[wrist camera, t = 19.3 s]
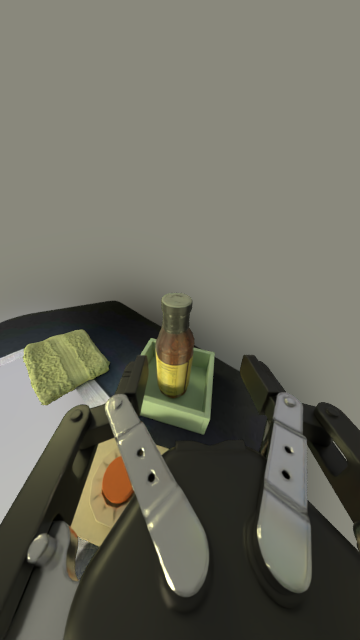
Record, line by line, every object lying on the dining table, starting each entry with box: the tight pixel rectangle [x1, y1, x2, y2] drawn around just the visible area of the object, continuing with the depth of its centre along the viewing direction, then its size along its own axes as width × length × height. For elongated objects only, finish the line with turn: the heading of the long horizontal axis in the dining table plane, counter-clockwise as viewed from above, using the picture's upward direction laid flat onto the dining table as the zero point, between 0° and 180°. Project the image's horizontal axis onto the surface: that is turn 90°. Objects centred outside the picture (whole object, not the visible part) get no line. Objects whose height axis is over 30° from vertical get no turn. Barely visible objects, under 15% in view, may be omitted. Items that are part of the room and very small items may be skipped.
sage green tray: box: [140, 338, 215, 435], centre depth 30 cm, size 15×14×6 cm
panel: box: [71, 438, 169, 547], centre depth 19 cm, size 12×9×4 cm
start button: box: [102, 456, 133, 504], centre depth 17 cm, size 4×4×2 cm
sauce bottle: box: [155, 293, 194, 398], centre depth 26 cm, size 6×6×20 cm
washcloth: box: [23, 330, 110, 405], centre depth 34 cm, size 13×18×3 cm
